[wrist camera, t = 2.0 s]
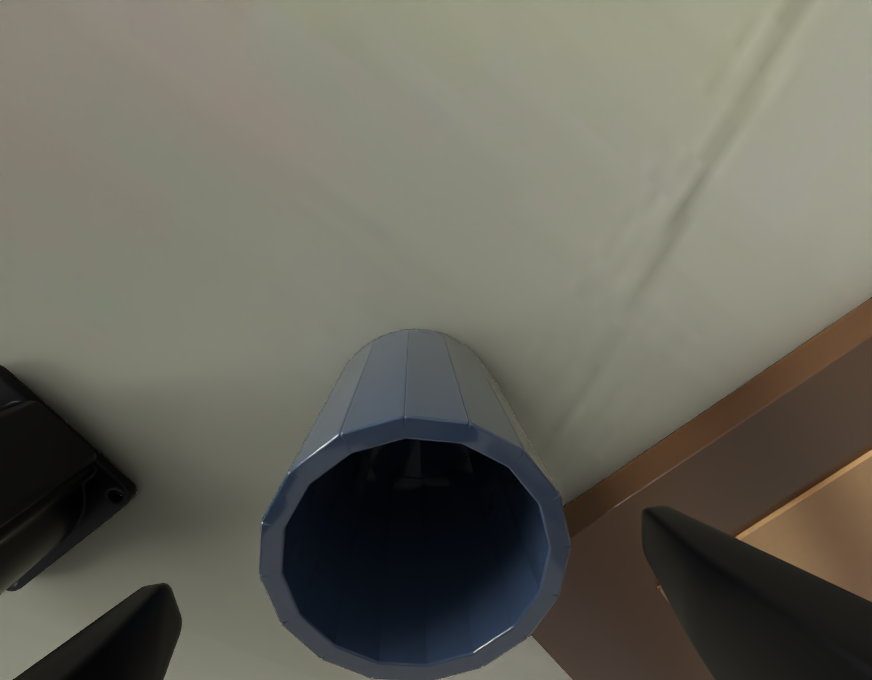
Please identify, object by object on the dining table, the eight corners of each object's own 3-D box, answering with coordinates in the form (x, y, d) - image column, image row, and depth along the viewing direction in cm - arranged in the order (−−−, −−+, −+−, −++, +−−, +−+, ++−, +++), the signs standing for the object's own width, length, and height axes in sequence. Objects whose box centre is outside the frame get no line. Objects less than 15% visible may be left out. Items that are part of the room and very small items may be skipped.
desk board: (673, 771, 20) (696, 818, 19) (483, 560, 17) (491, 595, 15) (1058, 547, 18) (1123, 577, 17) (932, 254, 15) (997, 256, 13)
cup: (403, 506, 16) (394, 726, 9) (299, 395, 15) (190, 545, 8) (526, 418, 16) (625, 576, 8) (429, 294, 14) (446, 352, 7)
